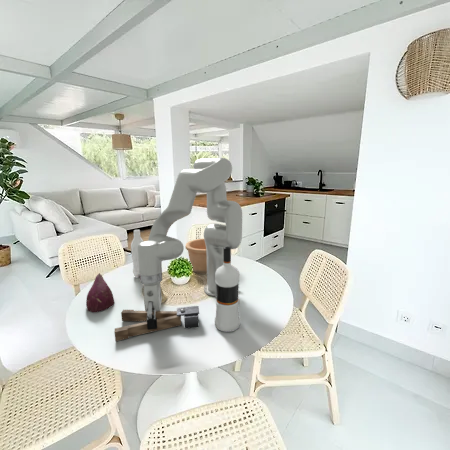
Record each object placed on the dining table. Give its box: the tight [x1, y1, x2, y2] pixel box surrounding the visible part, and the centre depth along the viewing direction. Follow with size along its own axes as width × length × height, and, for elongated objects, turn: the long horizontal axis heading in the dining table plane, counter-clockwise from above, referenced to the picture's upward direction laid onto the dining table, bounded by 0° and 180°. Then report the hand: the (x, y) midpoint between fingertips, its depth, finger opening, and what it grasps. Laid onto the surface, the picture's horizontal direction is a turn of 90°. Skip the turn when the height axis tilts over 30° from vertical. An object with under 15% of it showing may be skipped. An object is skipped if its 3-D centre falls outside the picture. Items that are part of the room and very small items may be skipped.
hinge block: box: [176, 305, 200, 330], centre depth 93 cm, size 8×7×6 cm
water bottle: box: [130, 229, 144, 279], centre depth 130 cm, size 7×7×25 cm
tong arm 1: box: [113, 315, 182, 342], centre depth 88 cm, size 22×2×4 cm, turn 111°
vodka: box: [214, 246, 241, 333], centre depth 89 cm, size 9×9×30 cm
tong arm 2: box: [120, 309, 177, 322], centre depth 95 cm, size 22×2×4 cm, turn 88°
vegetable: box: [85, 273, 115, 314], centre depth 105 cm, size 10×10×15 cm
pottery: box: [184, 238, 207, 275], centre depth 142 cm, size 22×22×14 cm
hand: (154, 320), depth 91 cm, fingers open, 9 cm apart
